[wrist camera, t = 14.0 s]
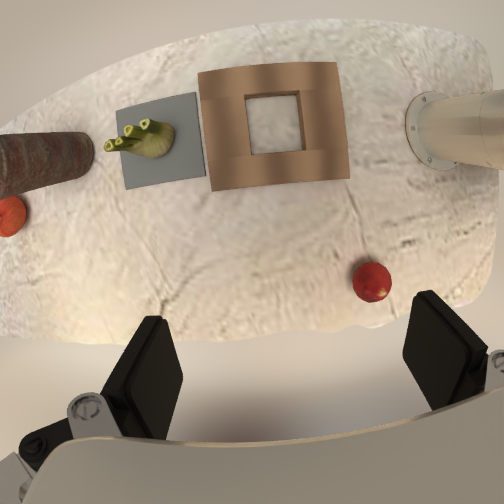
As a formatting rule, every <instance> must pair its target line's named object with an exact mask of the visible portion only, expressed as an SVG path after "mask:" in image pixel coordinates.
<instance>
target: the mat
mask: <svg viewBox="0 0 504 504" xmlns="http://www.w3.org/2000/svg"><path fill="white" fill-rule="evenodd" d="M147 118H148V119H152V120H154V121H157V122H164V123H168V124H170V125H171V126H172V127H173V128H174V133H175V134H174V140H173V144H172V146H171V148H170V149H169V151H168V152H167V153H166V154H164V155H163V156H161V157H158V158H148V157H145V156H141V155H137V154H132V153H129V152H127V151H120V155H121V162H122V169H123V176H124V182H125V188H126V190H128V189H133V188H138V187H143V186H148V185H153V184H159V183H165V182H170V181H176V180H183V179H189V178H195V177H202V176H206V173H205V165H204V158H203V150H202V142H201V134H200V126H199V117H198V109H197V100H196V92H191V93H186V94H181V95H176V96H172V97H167V98H163V99H158V100H154V101H150V102H146V103H142V104H139V105H135V106H131V107H128V108H124V109H121V110H117V111H116V120H117V130H118V137H119V136H125V134H124V130H123V128H124V126H125V125H134V126H139V127H141V126H140V124H139V121H140V120H141V119H147Z"/></svg>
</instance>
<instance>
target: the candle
mask: <svg viewBox="0 0 504 504" xmlns="http://www.w3.org/2000/svg"><path fill="white" fill-rule="evenodd" d="M92 156H93V152H92V143H91V141H90V139H89V138H88V137H87V135H86V134H85V133H81V132H49V133H23V134H4V135H0V200H2V199H5V198H7V197H10V196H14V195H18V194H21V193H24V192H27V191H31V190H35V189H38V188H41V187H45V186H49V185H53V184H57V183H61V182H65V181H69V180H73V179H77V178H79V177H81V176H83V175H84V174H85V173H86V172H87V171H88V169H89V167H90V164H91V160H92Z"/></svg>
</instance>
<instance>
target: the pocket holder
mask: <svg viewBox="0 0 504 504" xmlns="http://www.w3.org/2000/svg"><path fill="white" fill-rule="evenodd" d="M198 83H199V92H200V101H201V110H202V118H203V127H204V135H205V143H206V151H207V159H208V166H209V174H210V181H211V188H212V192H213V191H221V190H229V189H237V188H245V187H254V186H263V185H273V184H283V183H294V182H306V181H319V180H333V179H350V171H349V157H348V146H347V136H346V126H345V117H344V109H343V102H342V94H341V87H340V81H339V75H338V68H337V63H336V62H293V63H274V64H261V65H250V66H241V67H233V68H226V69H219V70H212V71H206V72H200V73H198ZM283 95H296V97H297V105H298V113H299V121H300V130H301V138H302V148H303V151H291V152H279V153H268V154H258V155H251V147H250V139H249V130H248V122H247V114H246V106H245V99H249V98H259V97H270V96H283Z"/></svg>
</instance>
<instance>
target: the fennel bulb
mask: <svg viewBox="0 0 504 504" xmlns="http://www.w3.org/2000/svg"><path fill="white" fill-rule="evenodd" d="M139 124H140V126H141V127H139V126H134V125H125V126H124V128H123V130H124V134H125V136H119V137H117V138H116V139H110V140H108V141H107V142H106V143H105V146H104V149H105V151H106V152H111V151H127V152H129V153H132V154H137V155H141V156H145V157H148V158H158V157H161V156H163V155H164V154H166V153H167V152H168V151H169V149H170V148H171V146H172V144H173V140H174V134H175V133H174V128H173V127H172V126H171V125H170V124H168V123H164V122H157V121H154V120H152V119H148V118H147V119H141V120H140V121H139Z"/></svg>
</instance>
